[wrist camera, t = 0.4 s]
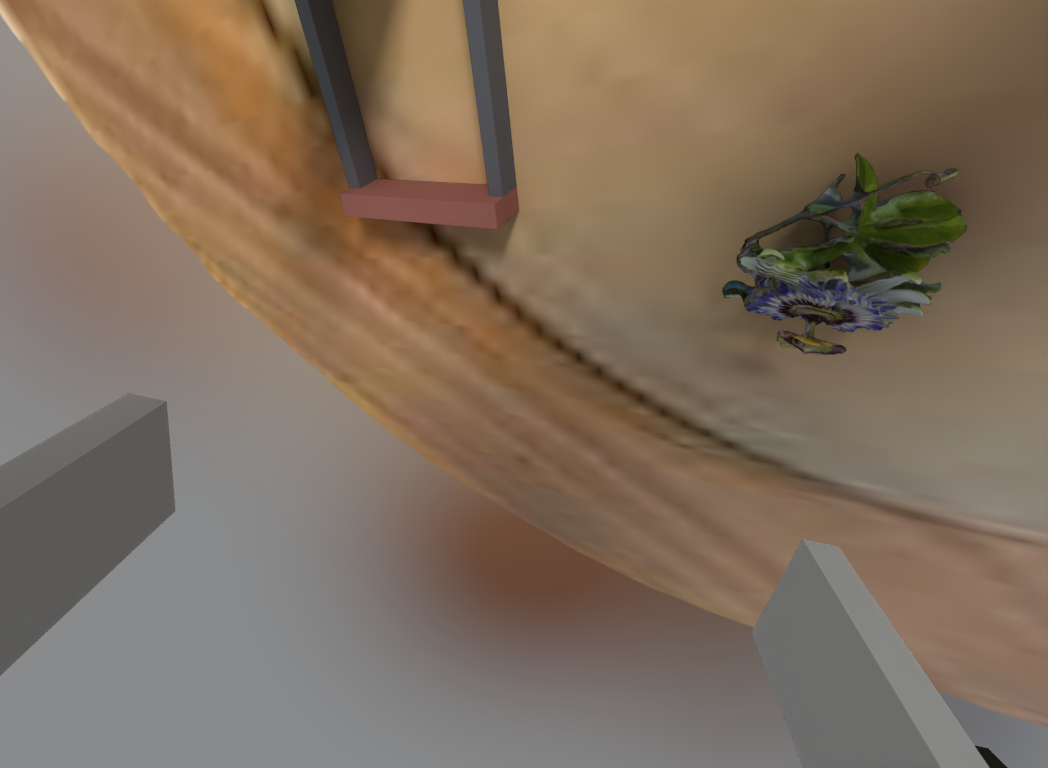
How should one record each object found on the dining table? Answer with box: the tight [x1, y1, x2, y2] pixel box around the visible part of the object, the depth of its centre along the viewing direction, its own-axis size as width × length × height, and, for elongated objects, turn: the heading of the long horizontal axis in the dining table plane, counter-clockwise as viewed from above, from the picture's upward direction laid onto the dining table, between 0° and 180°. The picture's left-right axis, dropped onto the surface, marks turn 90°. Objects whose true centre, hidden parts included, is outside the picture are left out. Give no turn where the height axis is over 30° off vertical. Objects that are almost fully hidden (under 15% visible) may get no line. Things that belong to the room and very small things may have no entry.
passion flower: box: [722, 153, 967, 355], centre depth 33 cm, size 11×11×12 cm
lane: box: [295, 0, 519, 229], centre depth 37 cm, size 30×15×4 cm, turn 6°
